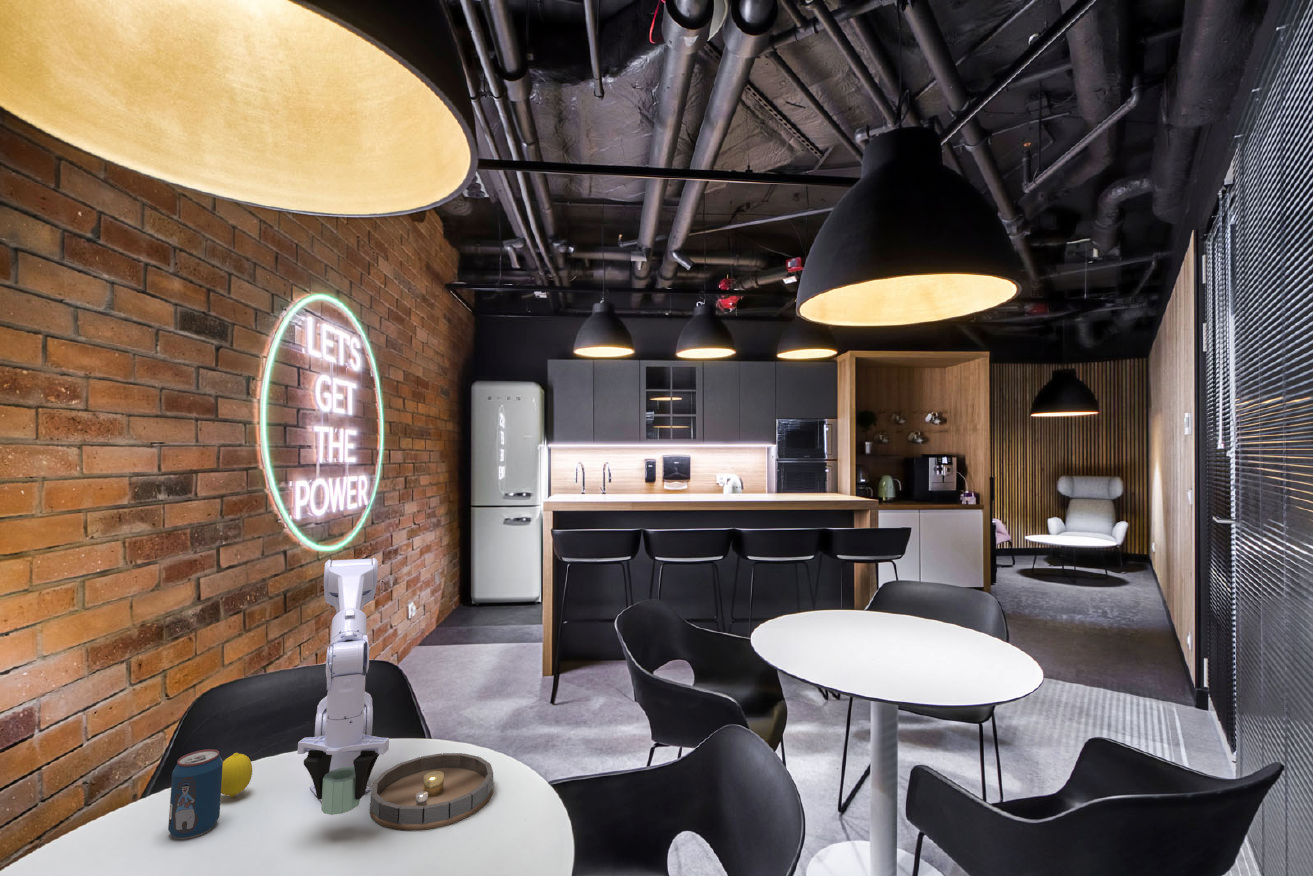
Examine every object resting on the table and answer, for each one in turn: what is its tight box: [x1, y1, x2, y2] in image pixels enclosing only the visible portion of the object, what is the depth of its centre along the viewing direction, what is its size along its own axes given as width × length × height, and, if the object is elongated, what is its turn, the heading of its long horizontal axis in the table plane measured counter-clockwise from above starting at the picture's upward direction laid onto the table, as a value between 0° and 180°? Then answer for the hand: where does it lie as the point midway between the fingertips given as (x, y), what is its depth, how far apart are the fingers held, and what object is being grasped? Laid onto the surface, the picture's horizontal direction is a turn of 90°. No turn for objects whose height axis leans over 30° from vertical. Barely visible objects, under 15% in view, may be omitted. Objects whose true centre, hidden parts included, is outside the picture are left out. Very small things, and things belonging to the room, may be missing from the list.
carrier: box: [369, 752, 494, 832], centre depth 112 cm, size 22×22×4 cm
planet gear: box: [321, 767, 361, 816], centre depth 101 cm, size 6×6×5 cm
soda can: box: [167, 748, 224, 840], centre depth 102 cm, size 7×7×12 cm
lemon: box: [221, 752, 253, 799], centre depth 112 cm, size 6×6×8 cm
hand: (341, 796), depth 101 cm, fingers closed on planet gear, 6 cm apart
